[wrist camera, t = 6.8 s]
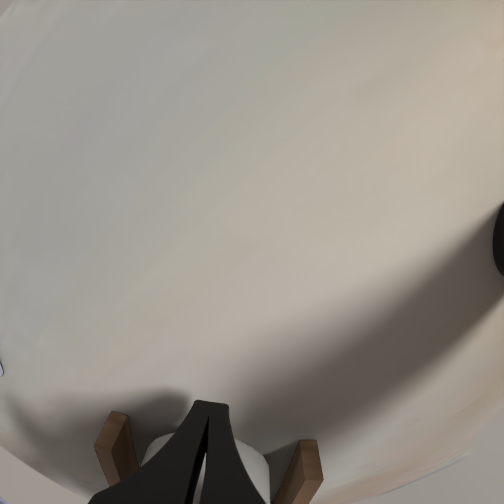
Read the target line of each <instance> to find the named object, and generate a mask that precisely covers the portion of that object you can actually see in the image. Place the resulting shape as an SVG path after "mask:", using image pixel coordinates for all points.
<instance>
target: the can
mask: <svg viewBox="0 0 504 504" xmlns="http://www.w3.org/2000/svg"><path fill="white" fill-rule="evenodd" d="M173 434H174V433H170V434H167V435H164V436H162V437H159V438H156V439H155V440H154V441H153V442H152V443H151V444H150V445H149V446H148V447H147V450H146V453H145V456H144V459H143V462H142V464H141V466H142V465H144V464H145V463H146V462H147V461H148V460H150V459H151V458H152V457H153V456H154V455H155V454H156V453H157V452H158V451H159V450H160V449H161V448H162V447H163V446H164V445H165V444H166V442H167V441H168V440H169V439H170V438H171V437H172V436H173ZM234 440H235V443H236V447H237V449H238V452H239V455H240V457H241V460H242V462H243V464H244V467H245V469H246V471H247V473H248V475H249V477H250V479H251V480H252V482H253V484H254V486H255V487H256V489H257V490H258V492H259V493H260V495H261V496H262V498H263V499H264V501H265V502H266V504H270V482H269V465H268V464H267V462H266V460H265V458H264V456H262V455H261V454H260V453H259V452H257V451H256V450H255V449H253V448H252V447H251V446H248V445H246V444H245V443H243V442H242V441H240V440H238V439H236V438H234ZM205 464H206V454H205V458H204V461H203V465H202V468H201V472H200V476H199V479H198V483H197V487H196V490H195V494H194V499H193V504H199V502H200V497H201V491H202V485H203V480H204V474H205Z"/></svg>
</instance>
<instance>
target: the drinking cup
mask: <svg viewBox="0 0 504 504" xmlns="http://www.w3.org/2000/svg"><path fill="white" fill-rule="evenodd" d="M493 253H494V259H495V263H496V266H497V268H498V270H499V271H500V273H501V274H502V275H503V276H504V205H503V207H502V209H501V211H500V213H499V215H498V218H497V221H496V225H495V230H494V237H493Z"/></svg>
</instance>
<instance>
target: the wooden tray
mask: <svg viewBox="0 0 504 504" xmlns="http://www.w3.org/2000/svg"><path fill="white" fill-rule="evenodd" d="M94 448H95V451H96V454H97V456H98V459H99V462H100V464H101V467H102V469H103V472H104V474H105V476H106V479H107V481H108V483H109V485H110V487H111V486H113V485H114V484H116V483H118V482H119V481H121V480H123V479H124V478H126V477H127V476H129V475H130V474H132V473H133V472H135V471H136V470H137V469H139V468H138V464H137V460H136V455H135V451H134V447H133V442H132V437H131V432H130V427H129V422H128V417H127V415H123V414H120V413H116V412H113V411H112V412H111V414H110V416H109V418H108V419H107V421H106V423H105V425H104V427H103V429H102V431H101V433H100V435H99V437H98V439H97V441H96V443H95V445H94ZM323 480H324V479H323V473H322V467H321V462H320V457H319V451H318V446H317V441H316V440H300V441H299V444H298V446H297V449H296V451H295V453H294V456H293V458H292V461H291V463H290V466H289V468H288V470H287V473H286V475H285V477H284V479H283V482H282V484H281V486H280V488H279V491H278V493H277V495H276V497H275V499H274V501H273V504H309V502H310V501H311V499H312V498H313V496H314V495H315V493H316V491H317V490H318V488H319V487H320V485H321V483H322V482H323Z"/></svg>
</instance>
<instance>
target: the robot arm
mask: <svg viewBox="0 0 504 504" xmlns="http://www.w3.org/2000/svg"><path fill="white" fill-rule="evenodd" d="M2 375H3V370H2V367H1V364H0V377H1V376H2ZM205 454H206V464H205V474H204V480H203V485H202V491H201V497H200V502H199V504H266V502H265V501H264V499H263V498H262V496H261V495H260V493H259V492H258V490H257V489H256V487H255V486H254V484H253V482H252V480H251V479H250V477H249V475H248V473H247V471H246V469H245V467H244V464H243V462H242V460H241V457H240V455H239V452H238V449H237V447H236V443H235V440H234V437H233V433H232V429H231V424H230V419H229V406H228V405H227V404H222V403H215V402H209V401H202V400H196V401H194V404H193V406H192V408H191V410H190V411H189V413H188V415H187V416H186V418H185V419H184V421H183V422H182V424H181V425H180V426H179V428H178V429H177V430H176V432H175V433H174V434H173V436H172V437H171V438H170V439H169V440H168V441H167V442H166V444H165V445H164V446H163V447H162V448H161V449H160V450H159V451H158V452H157V453H156V454H155V455H154V456H153V457H152V458H151V459H150V460H148V461H147V462H146V463H145V464H144V465H142V466H141V467H140V468H139V469H137V470H136V471H135V472H133V473H132V474H130V475H129V476H127V477H126V478H124V479H123V480H121V481H119V482H118V483H116V484H114V485H113V486H111V487H109V488H107V489H105V490H103V491H101V492H99V493H97V494H95V495H94V496H93V497H92V498H91V500H90V501H89V503H88V504H193V499H194V494H195V490H196V487H197V483H198V479H199V476H200V472H201V468H202V465H203V461H204V458H205ZM0 504H9V503H8V502H6V501H5V500H3V499H2V498H0Z"/></svg>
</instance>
